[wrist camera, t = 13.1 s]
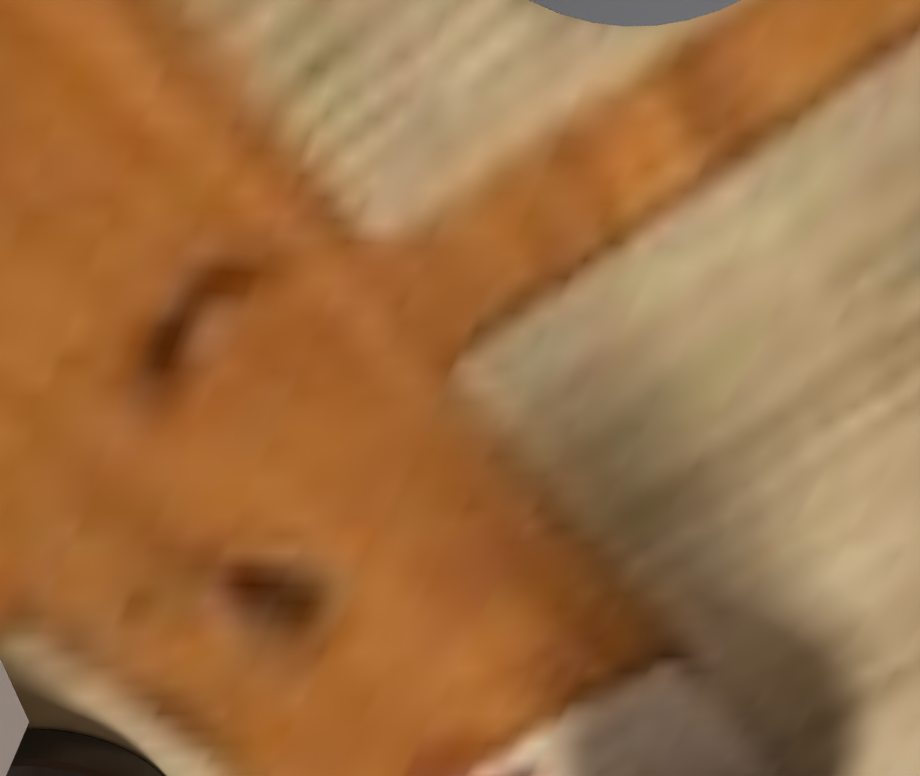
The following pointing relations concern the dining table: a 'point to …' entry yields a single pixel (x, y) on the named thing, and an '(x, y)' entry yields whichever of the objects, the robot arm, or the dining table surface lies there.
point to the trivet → (635, 10)
